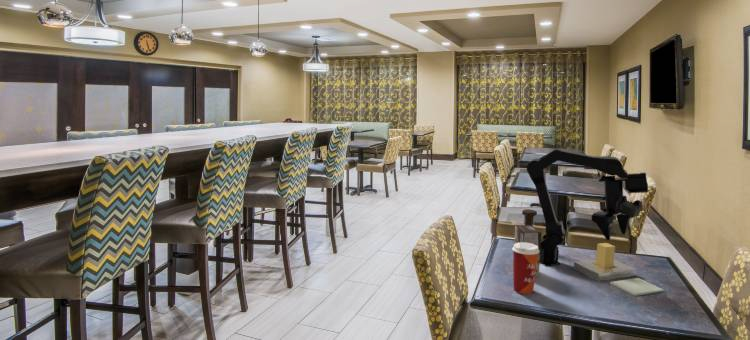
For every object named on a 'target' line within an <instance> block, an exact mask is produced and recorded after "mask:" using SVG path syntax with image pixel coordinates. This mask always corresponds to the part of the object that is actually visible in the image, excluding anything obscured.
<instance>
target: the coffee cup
mask: <svg viewBox="0 0 750 340" xmlns="http://www.w3.org/2000/svg"><path fill="white" fill-rule="evenodd" d="M511 250H512V253H513V260H512V261H513V262H512V270H513V271H512V272H513V274H512V275H513V277H512V279H513V291H514V292H515V291H516V292H515V293H517V292H518V294H520V293H523V294H522V295H530V294H529V293H531V294H533V293H532V292H534V287H535V280H536V277H535V274H536V266H537V259H538V253H539V252H540V251H539V249H538V246H537V245H535V244H532V243H525V242H520V243H515V244H514V243H513V247H512V248H511Z"/></svg>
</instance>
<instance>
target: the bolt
mask: <svg viewBox="0 0 750 340" xmlns="http://www.w3.org/2000/svg"><path fill="white" fill-rule="evenodd" d="M521 215H524V225H532V226H533V225H534V219H535V218H534V217H536V216H537V211H536V210H534V209H530V208H528V209H523V210H522V212H521ZM533 227H534V226H533Z"/></svg>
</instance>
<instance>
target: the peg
mask: <svg viewBox="0 0 750 340" xmlns="http://www.w3.org/2000/svg"><path fill="white" fill-rule="evenodd" d="M615 253H616V246H615V245H612V244H611V243H608V242H603V243H601V242H600V243H597V245H596V256H595V259H596V266H598V267H600V268H602V269H610V268H613V264H614V260H615Z"/></svg>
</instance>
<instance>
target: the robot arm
mask: <svg viewBox="0 0 750 340" xmlns="http://www.w3.org/2000/svg"><path fill="white" fill-rule="evenodd" d="M556 162H563V163H568V164H573V165H578V166H582V167H587V168H592V169H595V170H597V171H599V172H601V173H602V174H601V175H600V176H599V177H598V179H597V180H598V182H603V184H604V185H603V186H604V187H603V188H604V196H602V198H601V199H602V200H603V201H604V202H605V207H603V208H602V211H597V212H594V213H592V214H591V216H590V219H591V222H594V223H595V224H596V225H597V227H598V228H599V230H600V231H601V233H602V234H603V236H604V238H605V239H606V241H610V240H611V231H612V225H614V223H615V221H614V220H615V217H616V219H617V223H618V226H619V229H620V232H621V235H626V234H627V230H628V227H629V223H630V221H631V219H633V218H635V217H639V216H640V213H641V212H642V211H643V210H644V208H643V201H641V200H639V199H637V200H635V201H632V200H631V201H628V197H627V196H626V195H624V190H625V191H627V192H628V193H629V194H645V193H648V192H649V189H648V188H649V183H648V180H647V179H648V178H647V173H646V172H638V173H628V172H627V170H626V169H624V168H623V164H622V161H621V160H620V159H619V158H618V157H616V156H605V155H603V156H594V155H588V154H583V153H579V152H573V151H567V150H563V149H560V148H555V149H553V150H552V151H550V152H548V153H547V154H545V155H543V156H541V157H540V158H537V157H536V158H532V159H531V160H530V161H529V162H528V164H527V165H526V171H527V174H528V175H529V178H530V179H531V181H532V182H533V184H534V186H535V187H534V188H535V190H536V193H537V197H538V200H539V204H540V207H541V210H542V215H543V219H544V223H545V234H544V235H543V236H541V248H540V262H539V264H542V265H544V266H553V265H554V266H555V265H560V264H561V262H560V261H559V256H560V255H559V252H560V251H559V245H561V244H562V243H563V240H564V237H565V234H566V230H565V227H564V222H563V220H561V221H559V220H558V218H557V217H556V213H555V209H554V207H553V202H552V199H551V196H550V191H549V188H548V186H547V185H548V184H547V179H546V168H548V167H549V166H551V165H553V164H554V163H556ZM605 174H606V175H605ZM623 182H624V185H623ZM623 186H624V188H623Z"/></svg>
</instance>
